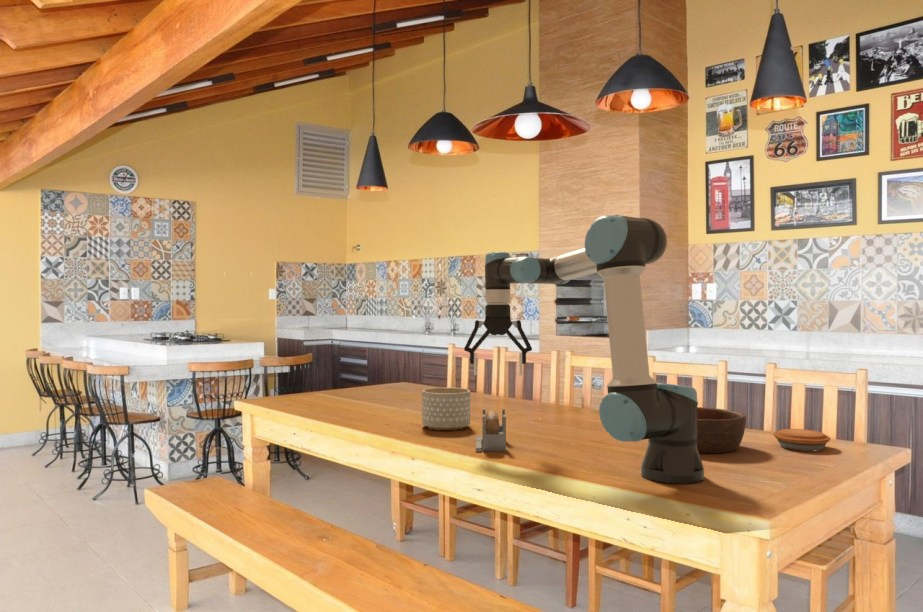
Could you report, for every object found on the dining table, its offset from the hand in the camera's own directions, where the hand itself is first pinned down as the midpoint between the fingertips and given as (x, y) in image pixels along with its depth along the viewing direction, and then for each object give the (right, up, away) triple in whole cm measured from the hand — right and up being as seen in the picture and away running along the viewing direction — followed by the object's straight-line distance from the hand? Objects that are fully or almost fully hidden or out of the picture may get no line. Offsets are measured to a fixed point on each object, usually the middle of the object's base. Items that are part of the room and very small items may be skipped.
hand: (498, 375), depth 216 cm
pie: (+91, -22, 0) cm, 93 cm away
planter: (-16, -21, +32) cm, 41 cm away
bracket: (-1, -21, +1) cm, 21 cm away
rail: (-2, -16, +1) cm, 16 cm away
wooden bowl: (+61, -22, 0) cm, 65 cm away
